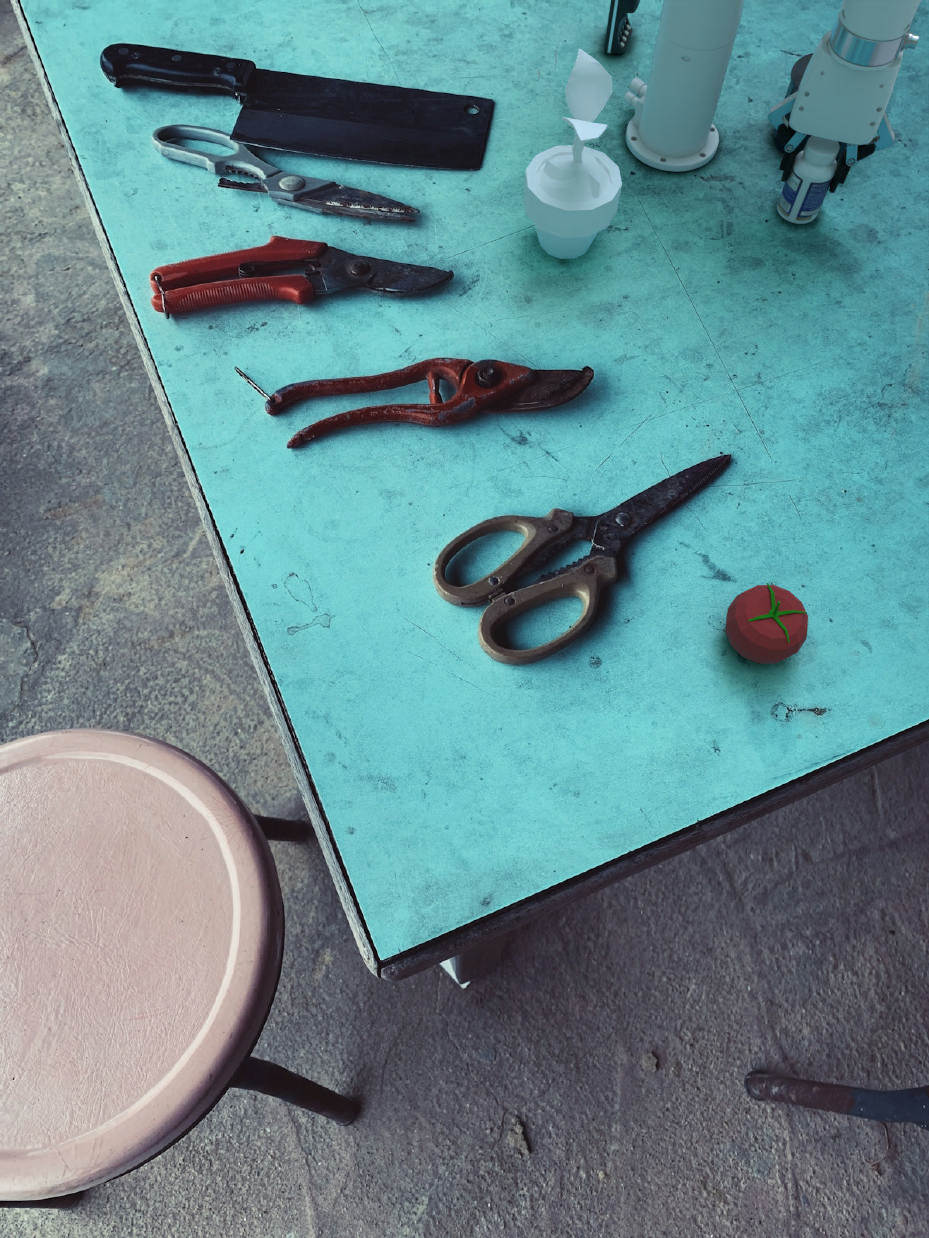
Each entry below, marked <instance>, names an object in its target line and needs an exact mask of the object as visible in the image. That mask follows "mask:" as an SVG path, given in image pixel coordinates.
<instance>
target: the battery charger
mask: <svg viewBox="0 0 929 1238" xmlns="http://www.w3.org/2000/svg"><path fill="white" fill-rule="evenodd" d="M640 3H641V0H610V4H609V9H608V10H609V11H608V17H607V25H606V32H605V38H604V45H603V51H604V52H605V53H606V54H616V55H622V54H623V53H625V52H626V51H627V47H628V45H629V42H630V40H631V37H632V34H633V27H632V26H631V23H630V19H629V14H634V13H636V11H637V10H638V8H639V5H640Z"/></svg>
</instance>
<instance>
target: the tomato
mask: <svg viewBox="0 0 929 1238" xmlns="http://www.w3.org/2000/svg"><path fill="white" fill-rule="evenodd" d="M808 626H809V615H808V612H807V611H806V609H805V606H804V603H803V602H802V601H801V600H800V599H799V598H798V597H797V596H796V595H795V594H794V593H793V592H791V591H790V590H788V589H785V588H783V587H780V586H778V585H775V584H769V582H766V584H757V585H755V586H753V587H750V588H749V589H747V590H744V591H743V592H741V593H739V594H737V595H736V596H735V597H734V599H733V600H732V602H731V603H730V604H729V605H728V607H727V611H726V617H725V628H724V629H725V630H724V631H725V634H726V636H727V640H728V642H729V644H730V647H732V649H734V650H735V651H736V652H737V653H738V654H739V655H740V656H741V657H742V658H744V659H746V660H749V661H750V662H754V663H756V664H759V665H766V664H767V665H772V664H773V665H774V664H778V663H780V662H782V661H784V660H787V659H789V658H790V657H792V656H793V655H796V654H797V653H799V651H800V650H801V648H802V647H803V645H804V644H805V642H806V641H807V637H808V630H809V629H808V628H809V627H808Z"/></svg>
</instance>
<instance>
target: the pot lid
mask: <svg viewBox="0 0 929 1238" xmlns="http://www.w3.org/2000/svg"><path fill="white" fill-rule="evenodd" d="M813 53H814V52H811V53H808V54H805V55H803V56H801V57H800V58H798V59H797V60H796V61H795V63H794V64H793V65H792V68H791V71H790V76H789V77H790V81H791V83H792V85H793V87H794V88H795V90H796V91H797V90H798V88H799V85H800V83H801V80H802V78H803V75H804V73H805V70H806V68H807V66H808V64H809V61H810V59H811V57H812V55H813Z"/></svg>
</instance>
